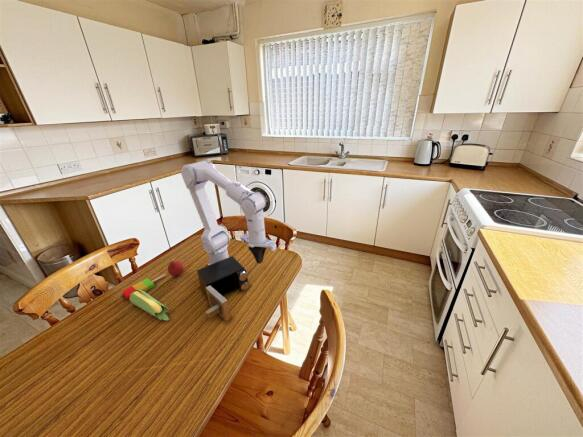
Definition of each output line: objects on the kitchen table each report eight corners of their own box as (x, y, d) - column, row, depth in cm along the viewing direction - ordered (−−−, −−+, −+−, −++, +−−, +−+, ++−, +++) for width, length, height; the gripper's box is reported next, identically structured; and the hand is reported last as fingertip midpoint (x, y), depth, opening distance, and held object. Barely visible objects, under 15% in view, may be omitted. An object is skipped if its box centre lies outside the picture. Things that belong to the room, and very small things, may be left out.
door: (214, 329, 72) (209, 311, 69) (198, 312, 78) (193, 294, 75) (230, 318, 76) (226, 299, 72) (213, 302, 82) (209, 285, 79)
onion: (179, 281, 93) (175, 264, 90) (167, 279, 94) (161, 263, 91) (188, 272, 98) (184, 255, 95) (176, 270, 99) (171, 254, 96)
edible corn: (142, 294, 87) (138, 284, 85) (176, 315, 77) (172, 305, 76) (127, 303, 83) (123, 293, 81) (161, 327, 74) (157, 316, 72)
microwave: (249, 288, 88) (247, 270, 85) (213, 306, 80) (209, 288, 77) (235, 272, 97) (232, 255, 94) (201, 287, 89) (196, 270, 86)
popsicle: (122, 295, 87) (120, 291, 86) (162, 273, 98) (161, 270, 97) (129, 301, 84) (127, 297, 83) (169, 278, 95) (168, 274, 94)
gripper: (232, 228, 81) (237, 261, 87) (265, 239, 74) (269, 274, 80) (246, 220, 86) (250, 252, 92) (278, 229, 79) (281, 263, 85)
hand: (259, 261), depth 86 cm, fingers closed
